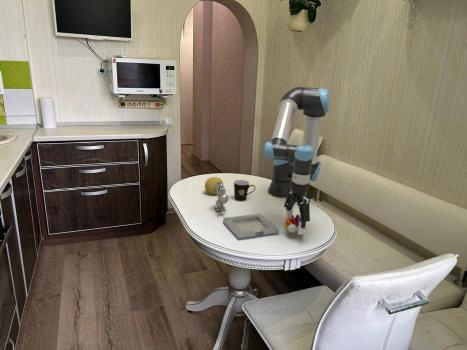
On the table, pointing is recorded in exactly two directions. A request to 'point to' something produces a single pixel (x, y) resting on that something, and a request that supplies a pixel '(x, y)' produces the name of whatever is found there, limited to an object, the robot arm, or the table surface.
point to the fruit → (212, 185)
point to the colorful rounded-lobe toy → (293, 223)
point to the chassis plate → (250, 226)
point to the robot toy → (221, 197)
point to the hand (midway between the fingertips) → (294, 228)
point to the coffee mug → (241, 189)
